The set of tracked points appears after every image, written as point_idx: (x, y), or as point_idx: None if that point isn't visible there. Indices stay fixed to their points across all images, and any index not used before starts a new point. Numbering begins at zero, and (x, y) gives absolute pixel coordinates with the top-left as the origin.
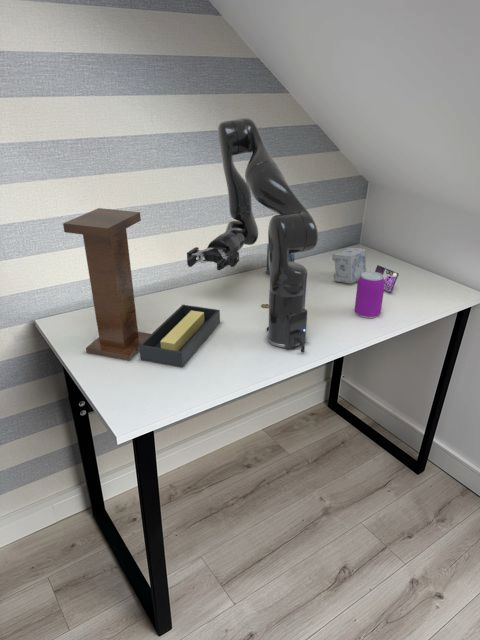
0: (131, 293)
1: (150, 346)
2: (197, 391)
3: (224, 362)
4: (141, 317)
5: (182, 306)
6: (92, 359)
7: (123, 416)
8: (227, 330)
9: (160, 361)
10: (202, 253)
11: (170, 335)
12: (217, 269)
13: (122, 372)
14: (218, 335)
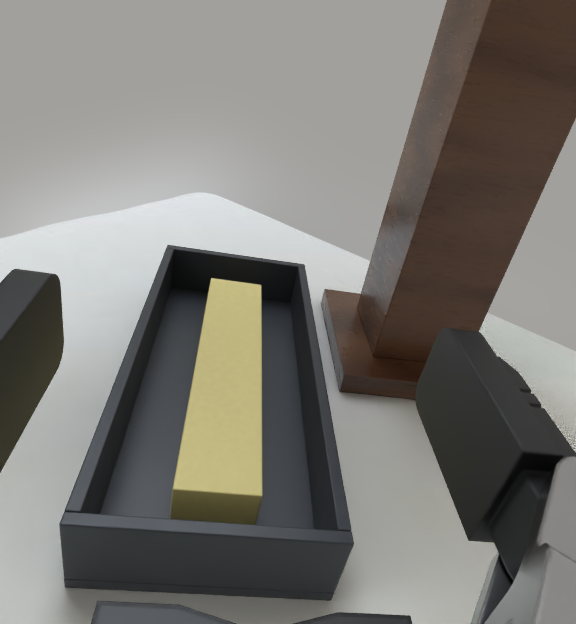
0: (423, 184)
1: (270, 261)
2: (101, 238)
3: None
4: None
5: (336, 515)
6: None
7: (223, 208)
8: (11, 509)
9: None
10: (521, 603)
11: (246, 306)
12: (57, 340)
13: None
14: (65, 453)
